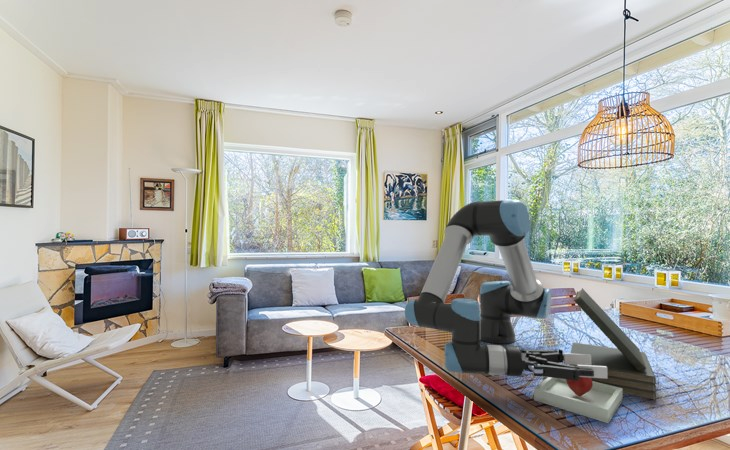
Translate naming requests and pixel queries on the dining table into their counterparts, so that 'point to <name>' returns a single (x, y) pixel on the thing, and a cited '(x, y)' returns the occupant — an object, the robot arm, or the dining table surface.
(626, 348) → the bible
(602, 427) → the dining table surface
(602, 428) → the dining table surface
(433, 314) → the robot arm
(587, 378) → the onion
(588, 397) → the tray
